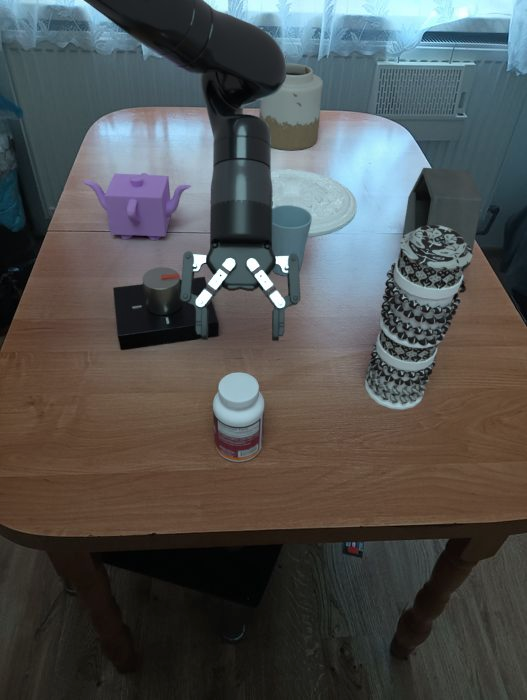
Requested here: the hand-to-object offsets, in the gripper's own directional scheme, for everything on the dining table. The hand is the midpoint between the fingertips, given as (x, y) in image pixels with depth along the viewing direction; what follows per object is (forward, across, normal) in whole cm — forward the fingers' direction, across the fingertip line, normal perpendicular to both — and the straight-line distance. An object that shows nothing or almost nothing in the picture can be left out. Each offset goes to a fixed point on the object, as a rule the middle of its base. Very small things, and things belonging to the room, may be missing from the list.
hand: (240, 340), depth 65 cm
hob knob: (-6, -12, +20) cm, 24 cm away
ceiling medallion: (-32, +11, +50) cm, 60 cm away
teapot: (-23, -19, +41) cm, 51 cm away
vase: (-56, +12, +74) cm, 94 cm away
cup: (-15, +8, +33) cm, 37 cm away
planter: (-15, +34, +33) cm, 49 cm away
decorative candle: (+6, +22, +12) cm, 26 cm away
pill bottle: (+13, 0, +5) cm, 14 cm away
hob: (-4, -12, +22) cm, 26 cm away
